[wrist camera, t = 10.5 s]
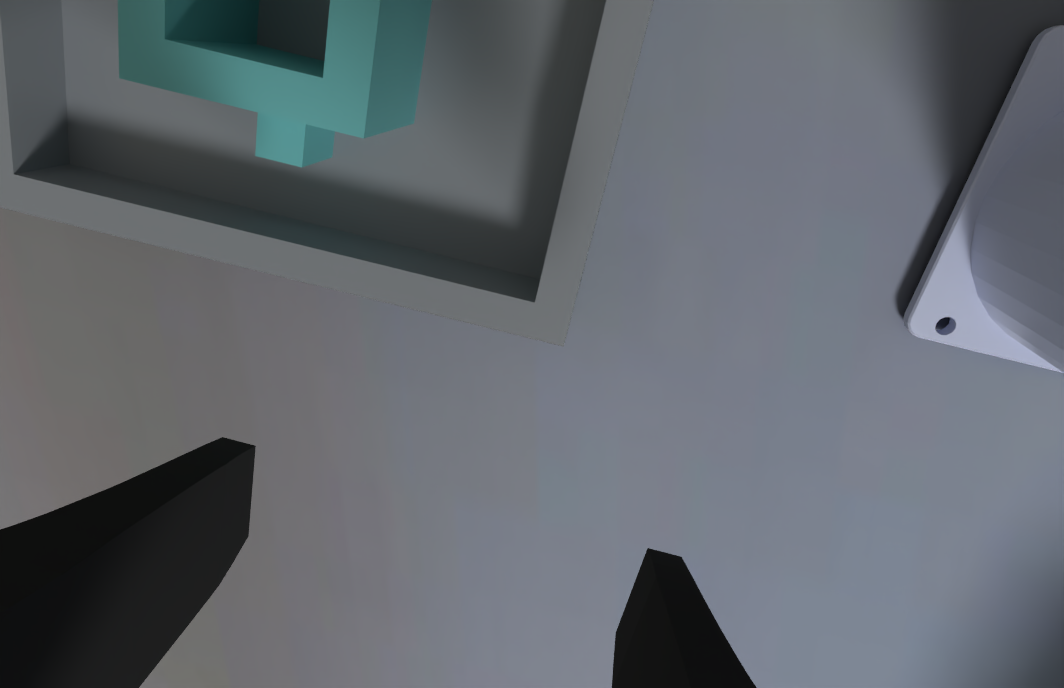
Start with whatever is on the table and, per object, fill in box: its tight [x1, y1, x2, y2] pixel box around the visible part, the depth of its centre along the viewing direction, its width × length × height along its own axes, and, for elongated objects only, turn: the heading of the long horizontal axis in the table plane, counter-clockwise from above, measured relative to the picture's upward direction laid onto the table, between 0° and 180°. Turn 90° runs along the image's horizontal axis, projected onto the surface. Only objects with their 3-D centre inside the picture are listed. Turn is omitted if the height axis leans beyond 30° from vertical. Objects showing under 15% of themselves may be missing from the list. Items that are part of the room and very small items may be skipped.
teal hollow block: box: [118, 0, 432, 167], centre depth 16 cm, size 5×7×4 cm
